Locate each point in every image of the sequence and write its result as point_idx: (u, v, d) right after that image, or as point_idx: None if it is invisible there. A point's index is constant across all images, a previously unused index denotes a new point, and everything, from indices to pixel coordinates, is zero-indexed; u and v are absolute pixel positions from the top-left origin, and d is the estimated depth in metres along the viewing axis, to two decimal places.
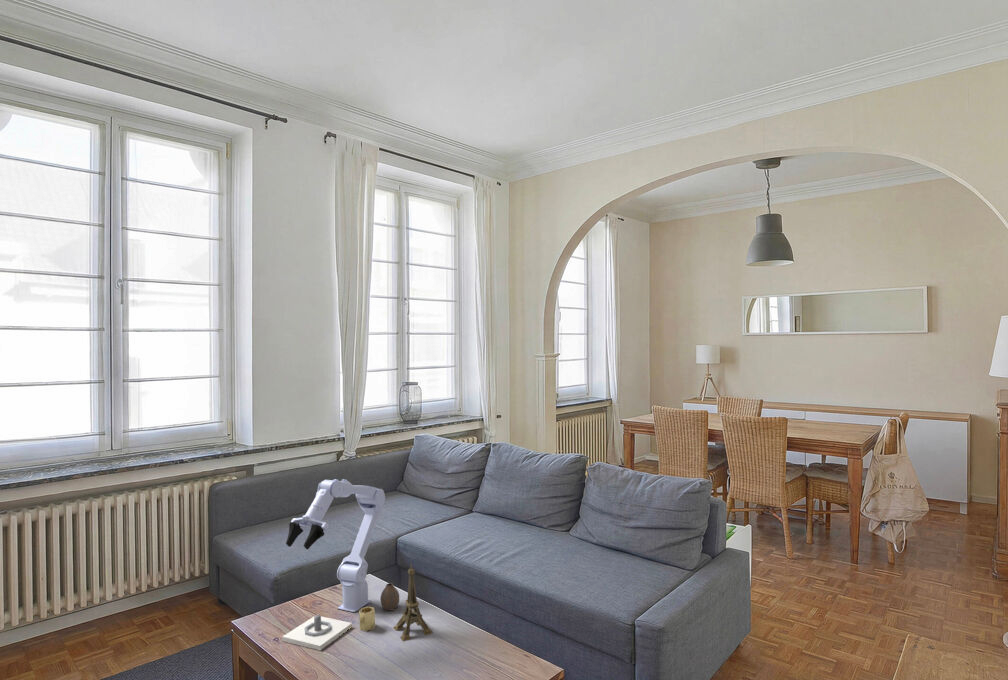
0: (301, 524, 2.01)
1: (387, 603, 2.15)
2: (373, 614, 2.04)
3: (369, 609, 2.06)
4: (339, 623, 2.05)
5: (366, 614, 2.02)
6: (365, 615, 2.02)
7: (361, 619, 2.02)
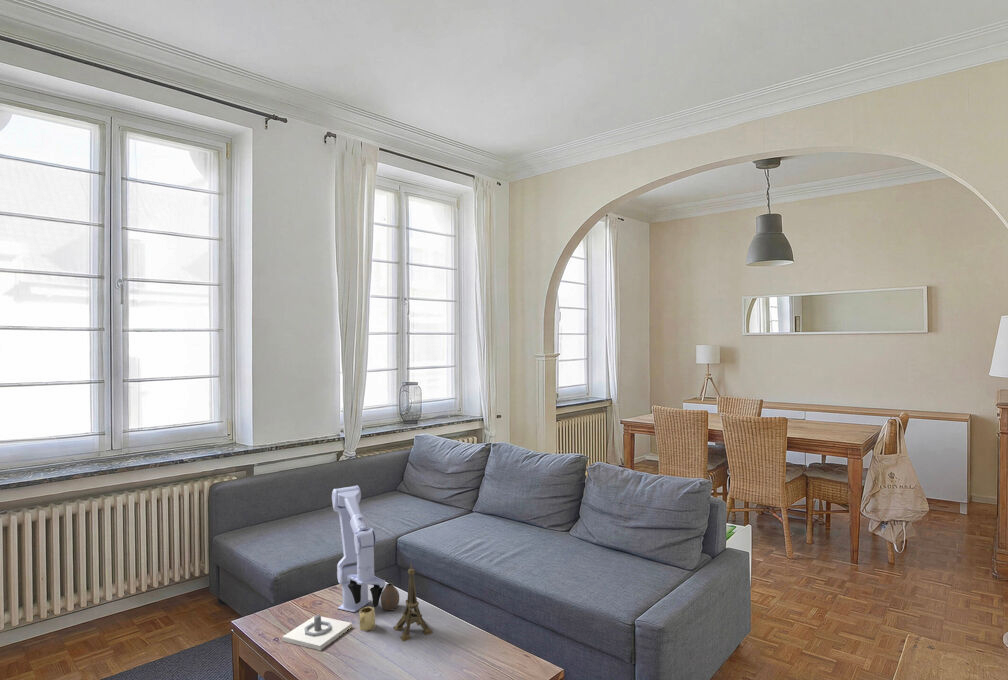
0: None
1: (387, 603, 2.15)
2: (373, 614, 2.04)
3: (369, 609, 2.06)
4: (339, 623, 2.05)
5: (366, 614, 2.02)
6: (365, 615, 2.02)
7: (361, 619, 2.02)
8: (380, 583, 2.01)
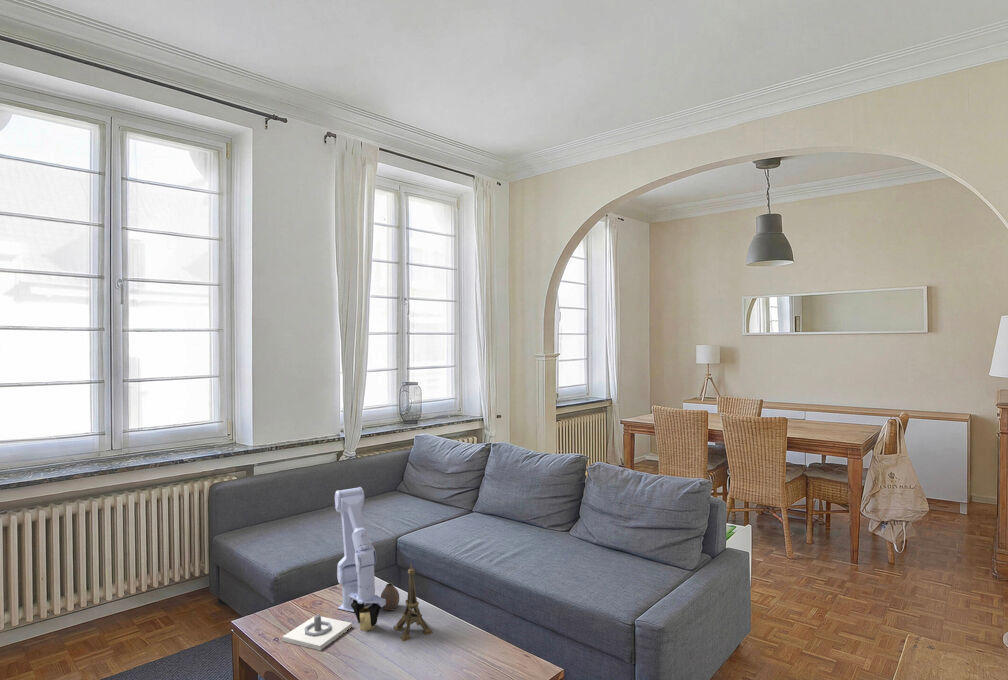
0: None
1: (387, 603, 2.15)
2: None
3: None
4: (339, 623, 2.05)
5: (366, 614, 2.02)
6: (365, 615, 2.02)
7: (361, 619, 2.02)
8: (381, 602, 2.01)
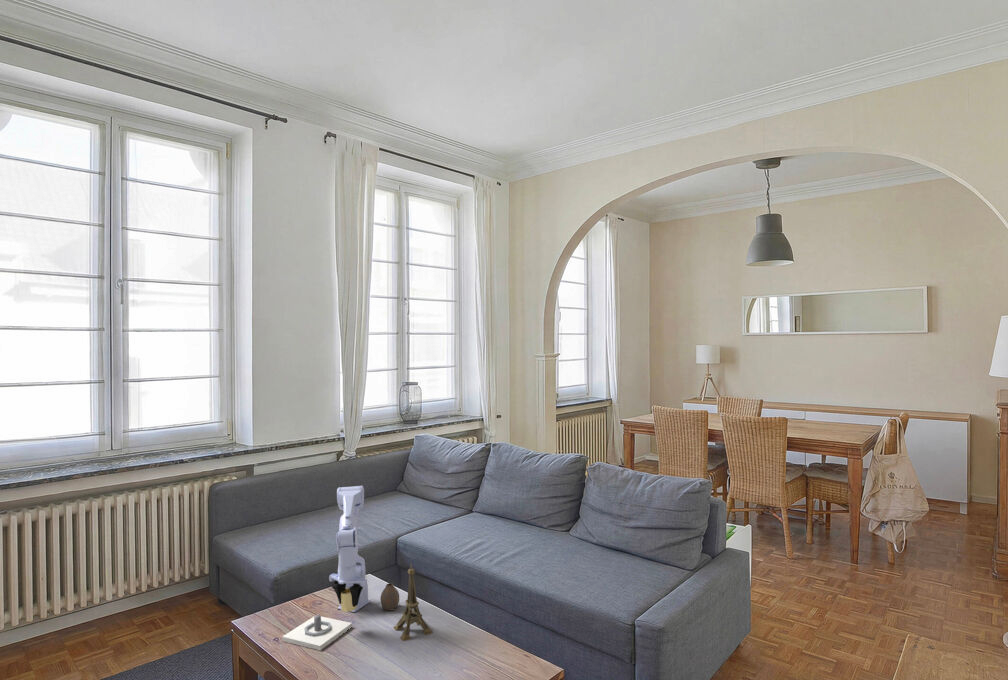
0: None
1: (387, 603, 2.15)
2: None
3: None
4: (339, 623, 2.05)
5: (347, 595, 2.01)
6: (346, 596, 2.00)
7: (342, 600, 2.01)
8: (362, 582, 1.99)
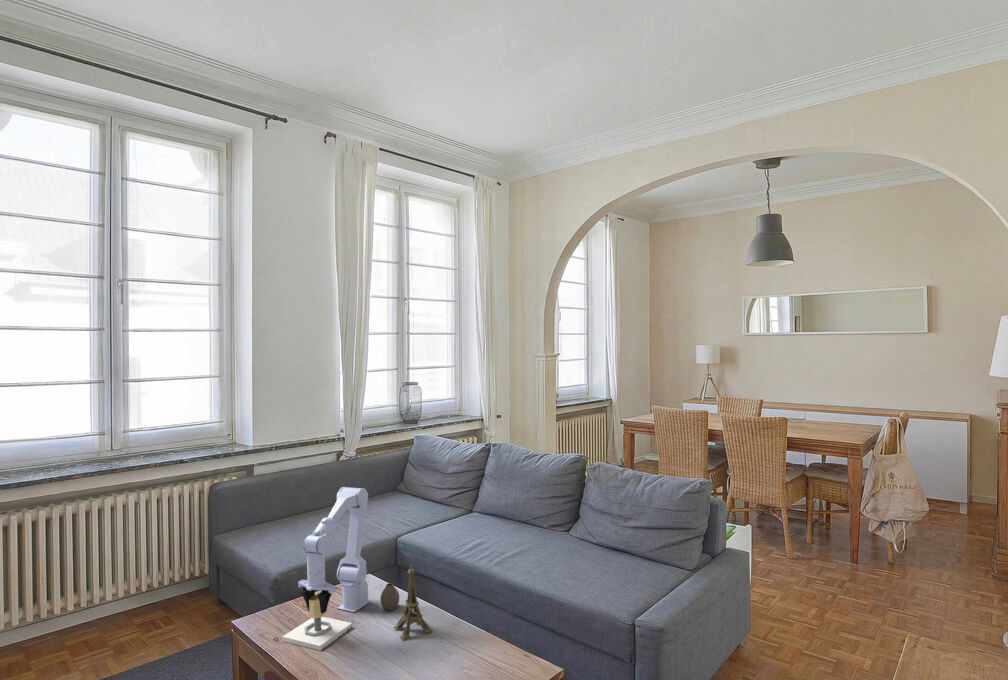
0: None
1: (387, 603, 2.15)
2: None
3: None
4: (339, 623, 2.05)
5: (315, 601, 1.98)
6: (314, 602, 1.98)
7: (310, 606, 1.99)
8: (330, 589, 1.97)
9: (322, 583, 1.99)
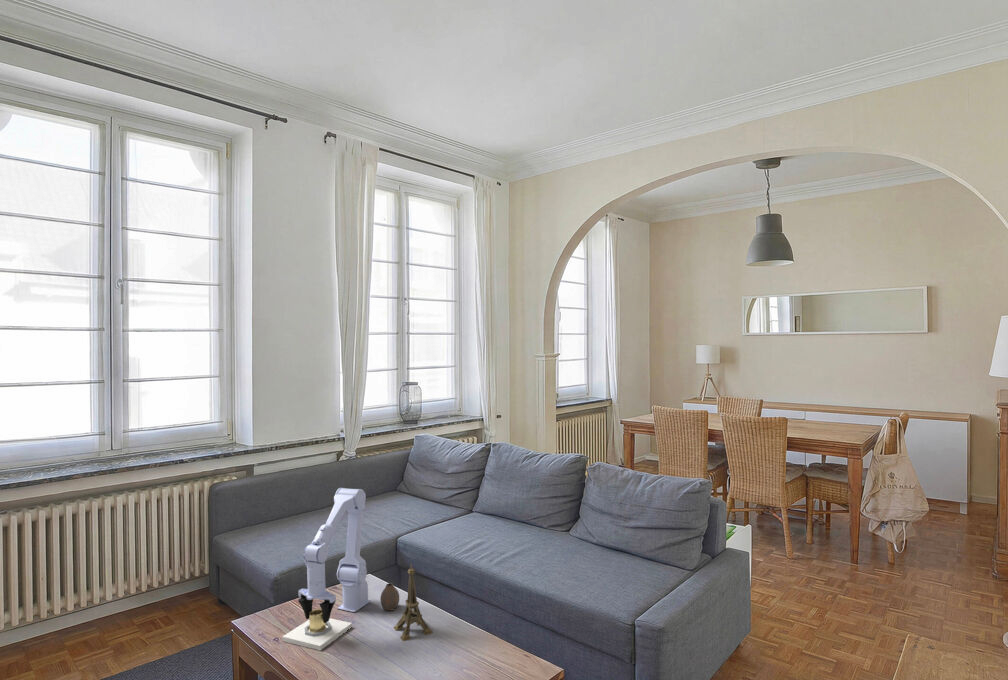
0: None
1: (387, 603, 2.15)
2: None
3: (320, 611, 2.02)
4: (339, 623, 2.05)
5: (316, 616, 1.98)
6: (315, 617, 1.98)
7: (311, 621, 1.99)
8: (330, 598, 1.97)
9: (322, 592, 1.99)
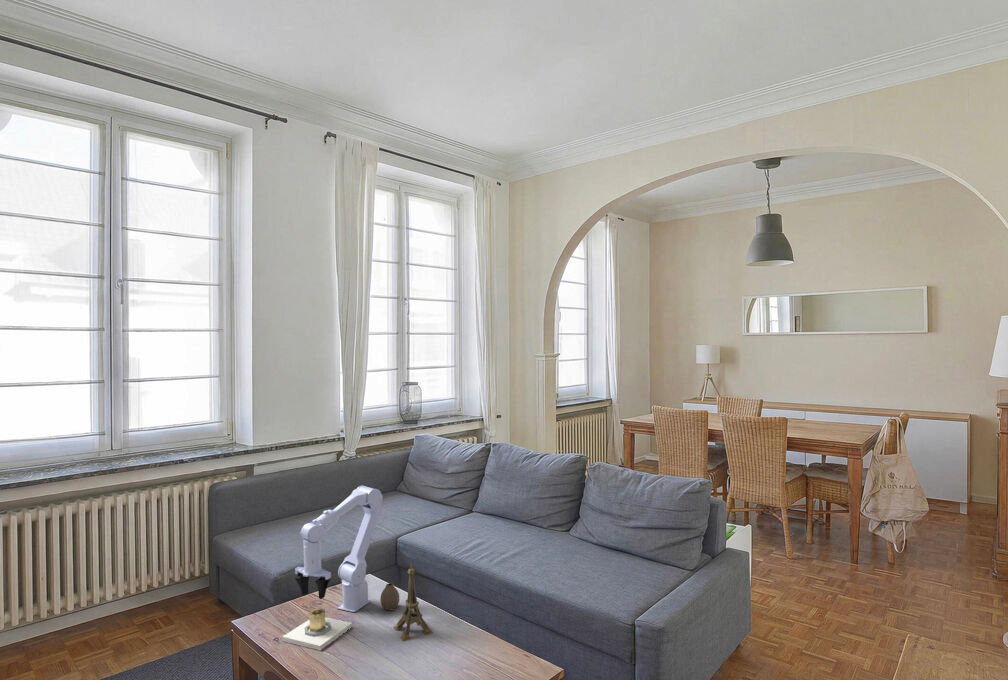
0: None
1: (387, 603, 2.15)
2: (323, 616, 2.00)
3: (320, 611, 2.02)
4: (339, 623, 2.05)
5: (316, 616, 1.98)
6: (315, 617, 1.98)
7: (311, 621, 1.99)
8: (326, 575, 2.05)
9: (318, 569, 2.07)
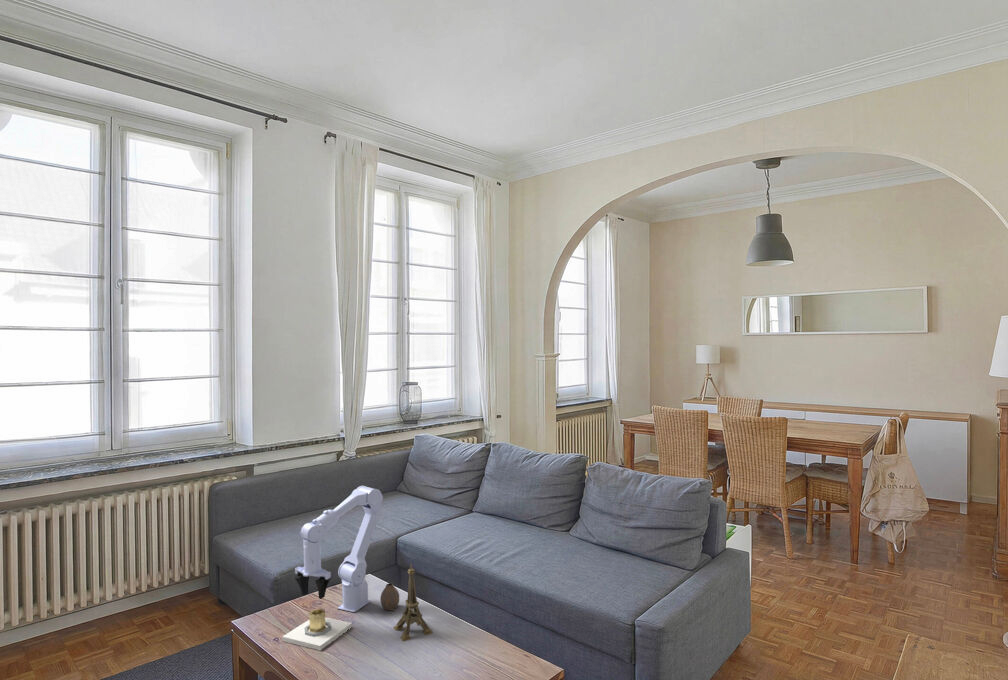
0: None
1: (387, 603, 2.15)
2: (323, 616, 2.00)
3: (320, 611, 2.02)
4: (339, 623, 2.05)
5: (316, 616, 1.98)
6: (315, 617, 1.98)
7: (311, 621, 1.99)
8: (325, 575, 2.05)
9: (318, 569, 2.08)
